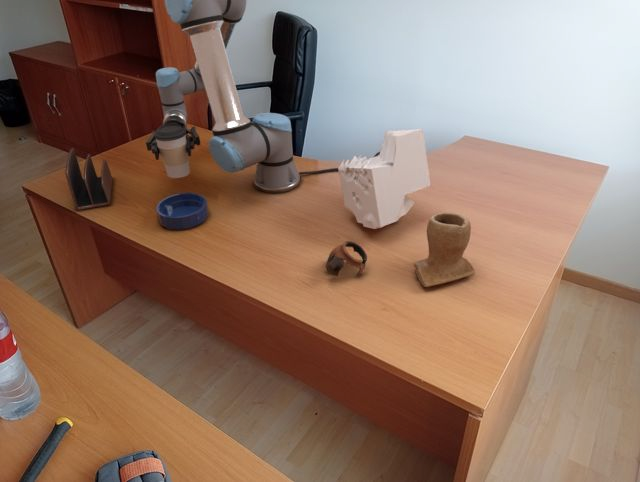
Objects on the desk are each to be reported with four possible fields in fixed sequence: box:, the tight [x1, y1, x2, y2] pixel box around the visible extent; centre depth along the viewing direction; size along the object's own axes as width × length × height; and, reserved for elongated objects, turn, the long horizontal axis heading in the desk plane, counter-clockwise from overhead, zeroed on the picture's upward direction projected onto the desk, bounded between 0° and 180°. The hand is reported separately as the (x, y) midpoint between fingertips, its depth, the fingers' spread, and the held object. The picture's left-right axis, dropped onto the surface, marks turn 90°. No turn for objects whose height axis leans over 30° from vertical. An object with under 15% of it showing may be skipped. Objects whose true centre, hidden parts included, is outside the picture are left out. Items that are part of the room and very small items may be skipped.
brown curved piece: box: [325, 240, 368, 277], centre depth 121 cm, size 12×10×8 cm
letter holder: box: [64, 147, 113, 211], centre depth 157 cm, size 10×20×14 cm, turn 17°
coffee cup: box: [154, 123, 191, 179], centre depth 146 cm, size 9×9×15 cm
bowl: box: [155, 192, 210, 231], centre depth 145 cm, size 15×15×4 cm
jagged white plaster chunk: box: [337, 128, 431, 230], centre depth 137 cm, size 20×16×25 cm
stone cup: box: [413, 212, 475, 288], centre depth 117 cm, size 15×12×15 cm
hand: (172, 153), depth 142 cm, fingers closed on coffee cup, 9 cm apart
